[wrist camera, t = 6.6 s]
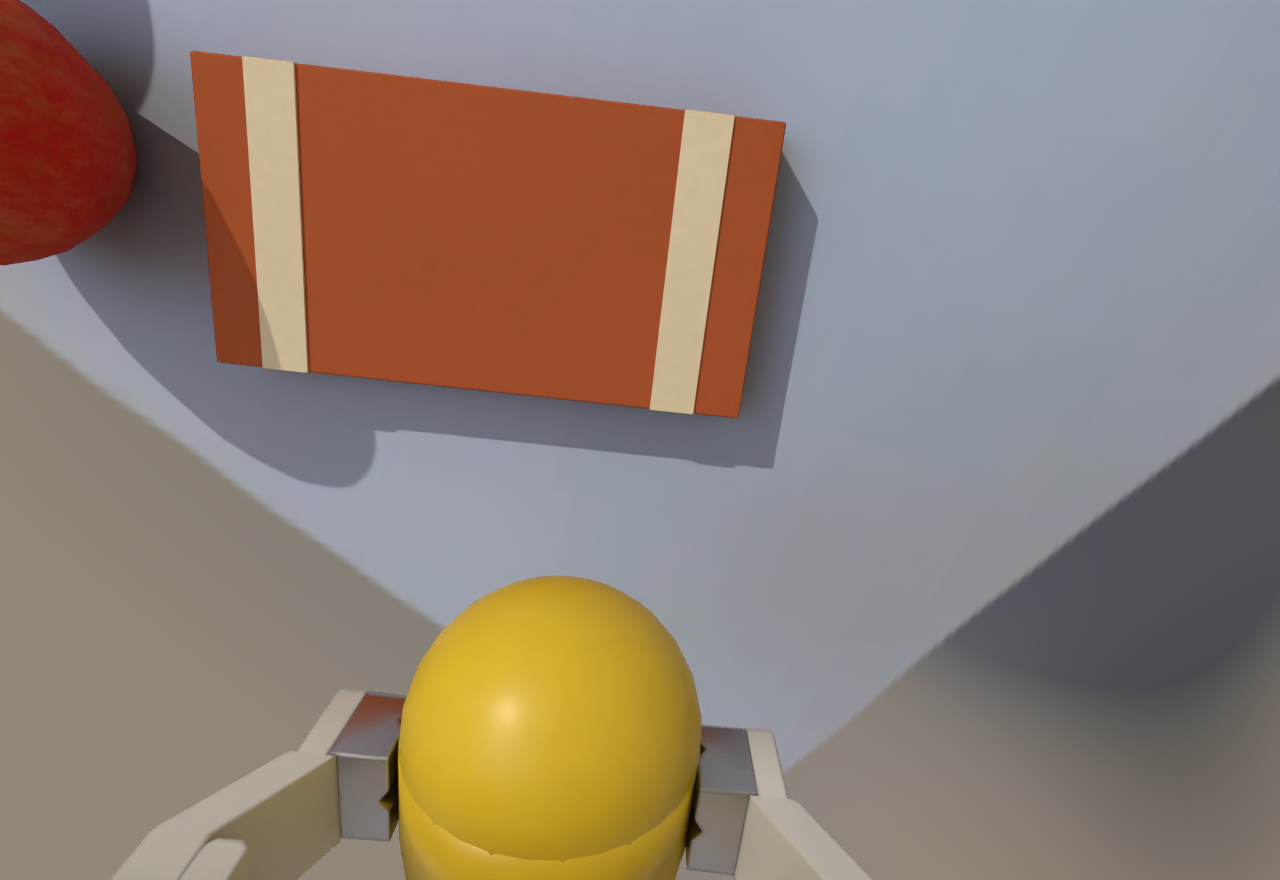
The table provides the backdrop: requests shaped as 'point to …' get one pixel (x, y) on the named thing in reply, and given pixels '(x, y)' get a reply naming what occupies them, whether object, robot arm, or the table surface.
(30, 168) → the apple
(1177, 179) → the table surface
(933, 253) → the table surface
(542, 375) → the tea towel
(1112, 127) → the table surface
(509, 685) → the lemon
